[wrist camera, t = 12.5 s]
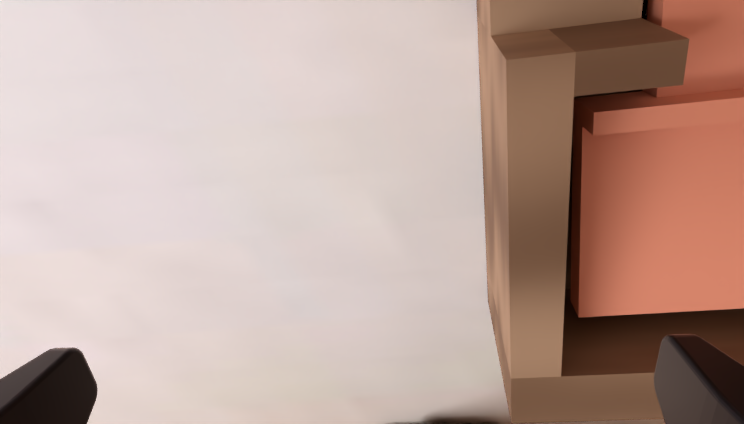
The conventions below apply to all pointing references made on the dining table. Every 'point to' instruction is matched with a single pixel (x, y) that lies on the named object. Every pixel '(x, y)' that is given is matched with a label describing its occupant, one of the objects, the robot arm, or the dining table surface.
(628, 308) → the lever
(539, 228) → the brown wooden lever base
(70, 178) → the dining table surface
